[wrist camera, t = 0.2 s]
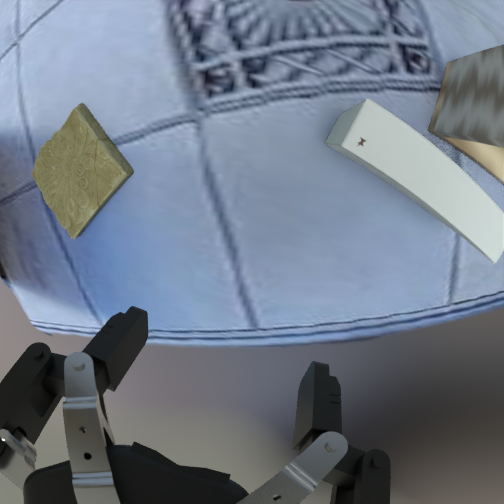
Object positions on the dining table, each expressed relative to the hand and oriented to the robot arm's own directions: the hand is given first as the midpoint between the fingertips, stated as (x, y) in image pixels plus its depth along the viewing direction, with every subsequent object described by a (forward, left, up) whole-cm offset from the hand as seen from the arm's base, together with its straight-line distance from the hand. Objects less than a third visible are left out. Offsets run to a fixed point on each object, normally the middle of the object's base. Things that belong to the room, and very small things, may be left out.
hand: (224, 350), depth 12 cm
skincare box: (-10, +14, -29) cm, 34 cm away
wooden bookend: (-23, +29, -29) cm, 47 cm away
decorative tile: (+6, -36, -30) cm, 47 cm away
